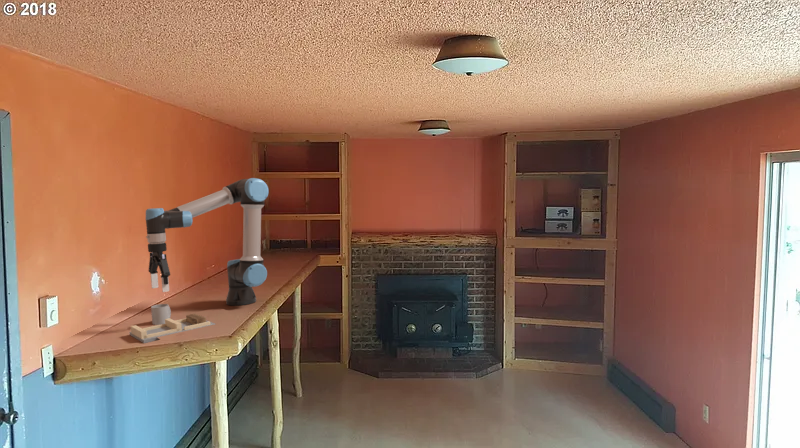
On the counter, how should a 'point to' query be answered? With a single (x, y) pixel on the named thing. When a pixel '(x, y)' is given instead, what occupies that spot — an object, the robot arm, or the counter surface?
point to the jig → (164, 329)
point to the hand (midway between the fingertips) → (160, 289)
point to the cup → (160, 313)
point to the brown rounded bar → (195, 319)
